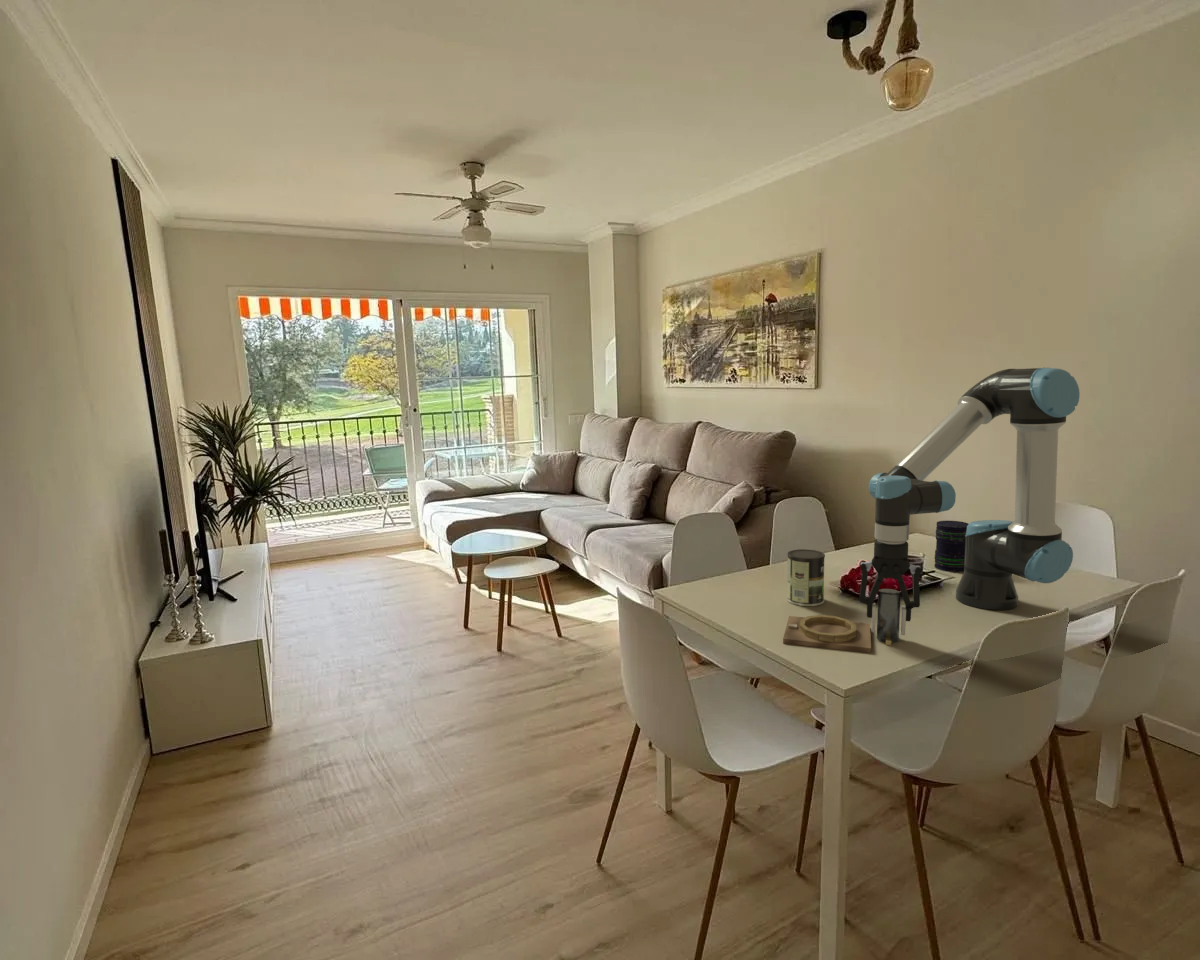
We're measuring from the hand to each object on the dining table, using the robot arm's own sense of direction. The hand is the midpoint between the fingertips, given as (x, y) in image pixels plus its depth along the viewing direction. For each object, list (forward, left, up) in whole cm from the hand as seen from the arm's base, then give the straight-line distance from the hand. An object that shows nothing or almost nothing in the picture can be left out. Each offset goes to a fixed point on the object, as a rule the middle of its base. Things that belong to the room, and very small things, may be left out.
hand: (887, 631), depth 161 cm
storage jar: (-22, -68, -2) cm, 72 cm away
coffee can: (+21, -23, -2) cm, 31 cm away
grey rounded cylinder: (0, 0, -2) cm, 2 cm away
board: (+14, +2, -2) cm, 14 cm away
